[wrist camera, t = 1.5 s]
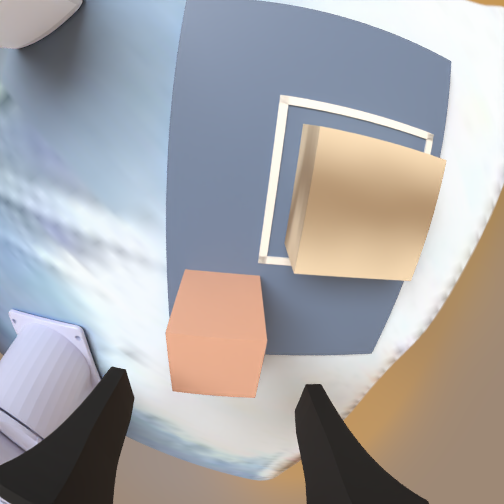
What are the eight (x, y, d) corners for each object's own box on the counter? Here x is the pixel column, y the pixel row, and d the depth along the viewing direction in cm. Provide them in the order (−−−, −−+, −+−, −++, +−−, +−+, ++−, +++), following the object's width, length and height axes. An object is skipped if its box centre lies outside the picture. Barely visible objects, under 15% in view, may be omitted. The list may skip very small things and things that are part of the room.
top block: (251, 331, 17) (255, 397, 13) (186, 325, 17) (172, 391, 12) (259, 275, 16) (267, 340, 11) (185, 269, 15) (165, 332, 11)
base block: (386, 253, 15) (410, 280, 12) (284, 243, 15) (294, 273, 12) (412, 149, 13) (446, 160, 10) (303, 123, 12) (320, 126, 9)
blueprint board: (368, 346, 20) (371, 354, 19) (174, 338, 18) (171, 347, 18) (443, 62, 11) (452, 61, 10) (189, 3, 10) (186, -3, 9)
